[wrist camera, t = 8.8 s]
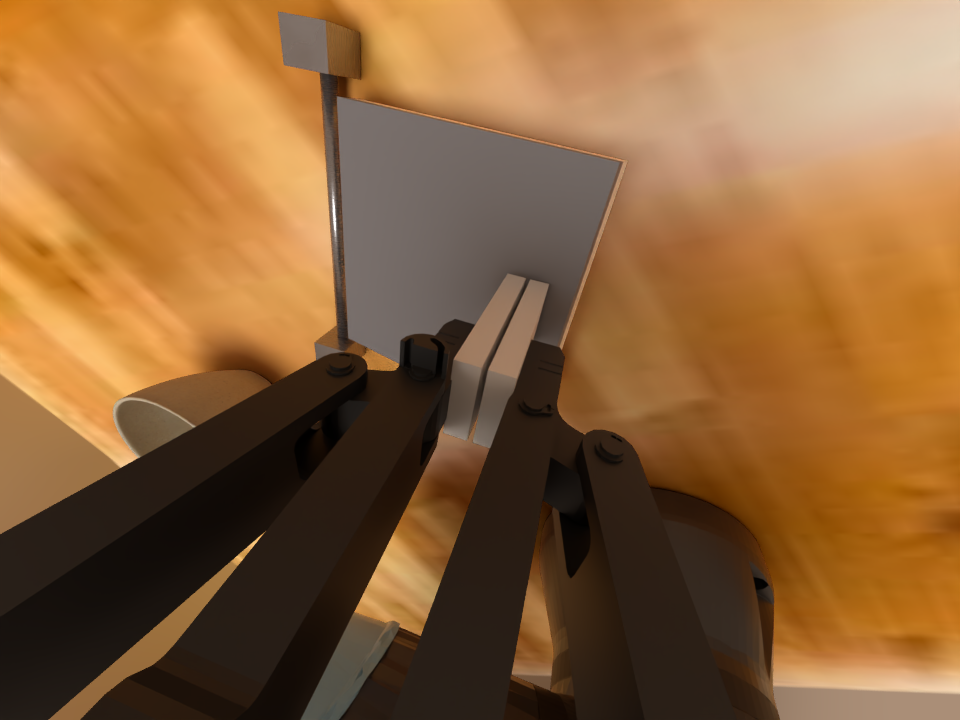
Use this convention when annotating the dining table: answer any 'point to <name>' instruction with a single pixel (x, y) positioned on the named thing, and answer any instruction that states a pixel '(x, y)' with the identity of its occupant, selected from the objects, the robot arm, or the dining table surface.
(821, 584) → the dining table surface
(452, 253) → the tile
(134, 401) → the flower pot
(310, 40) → the hinge bracket
